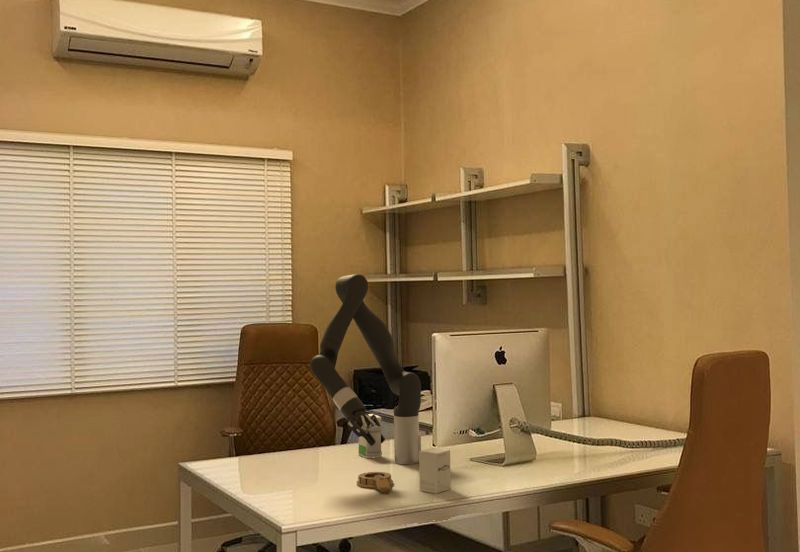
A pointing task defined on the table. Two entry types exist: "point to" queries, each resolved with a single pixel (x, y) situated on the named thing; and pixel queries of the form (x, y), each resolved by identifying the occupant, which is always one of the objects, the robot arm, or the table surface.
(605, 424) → the table surface
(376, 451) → the grey flanged cylinder
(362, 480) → the bronze ring
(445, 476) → the supplement box
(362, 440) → the skincare box
